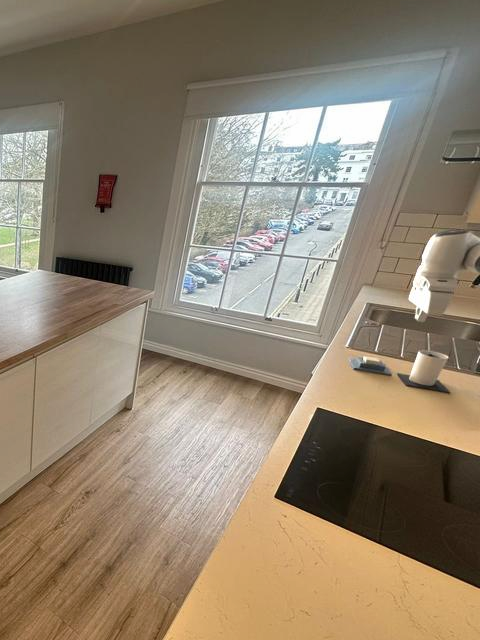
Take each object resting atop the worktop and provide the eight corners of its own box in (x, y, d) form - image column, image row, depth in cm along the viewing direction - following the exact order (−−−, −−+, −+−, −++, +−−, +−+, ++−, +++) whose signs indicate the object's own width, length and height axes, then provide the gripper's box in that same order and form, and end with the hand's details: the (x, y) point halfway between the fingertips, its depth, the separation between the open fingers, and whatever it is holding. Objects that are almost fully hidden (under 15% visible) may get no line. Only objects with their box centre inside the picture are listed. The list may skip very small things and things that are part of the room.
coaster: (437, 381, 135) (438, 379, 134) (449, 393, 127) (450, 392, 127) (396, 374, 140) (397, 373, 140) (405, 386, 132) (406, 384, 132)
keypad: (383, 365, 146) (386, 359, 145) (391, 376, 139) (393, 370, 138) (347, 360, 152) (349, 354, 151) (353, 369, 144) (355, 363, 143)
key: (376, 362, 145) (377, 358, 144) (378, 365, 142) (380, 361, 141) (362, 359, 147) (364, 356, 146) (365, 363, 144) (366, 359, 143)
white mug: (401, 377, 137) (412, 350, 133) (420, 376, 137) (432, 350, 133) (422, 386, 131) (434, 358, 127) (442, 385, 131) (455, 358, 127)
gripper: (410, 274, 141) (397, 311, 145) (431, 286, 125) (415, 327, 129) (436, 275, 137) (422, 313, 142) (461, 288, 121) (444, 330, 126)
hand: (419, 320), depth 136 cm, fingers closed
